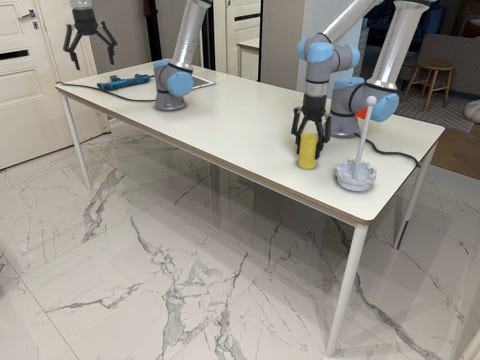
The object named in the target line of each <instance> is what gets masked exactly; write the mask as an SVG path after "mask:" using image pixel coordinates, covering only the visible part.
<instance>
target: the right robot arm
mask: <svg viewBox="0 0 480 360" xmlns="http://www.w3.org/2000/svg"><path fill="white" fill-rule="evenodd" d="M383 2H385V0H349V1H347V3H345V4H344V5H343V7H342V8H340V10H339V11H338V12H337V13H335V14H334V16H332V18H331V19H330V20H328V21H327V22H326V24H324V26H322V27H321V28H320V30H319V31H318V32H316V34H314V35H313V36H312V38H311V37H305V38H302V39H301V40H300V41H299V42H298V44H297V47H296V54H297V57H298V58H299V59H300V60H301V61H304V62H306V69H305V80H304V88H303V89H304V90H303V91H304V93H303V98H302V106H298V105H297V106H296V107H294V108H293V120H292V125H291V131H290V134H291V135H294V136H295V140H294V144H295V145H296V152H295V153H296V155H299V149H300V140H301V134H303V133H304V130H305V128H306V126H307V124H308V122H309V121H310V122H313V123H314V125H315V129H316V134H318V139H319V142H318V143H317V146H316V153H315V160H316V161H317V160H318V159H319V158H320V157H321V152H322V151H324V147H325V144H328V143H329V142H330V141H331V139H332V138H331V137H335V138H339V139H341V138H342V139H349V138H354V137H357V138H360V139H361V134H359V132H360V125H359V117H357V116H355V114H357V113H358V112H360V111H361V110H363V109H364V108H366V107H367V106H368V105H367V103H366V99H367V98H368V97H369V96H374V97H376V99H377V102H376V104H375V105H373V108H372V112H371V117H370V121H373V122H377V123H382V122H385V121H387V120H388V119H389V118H390V117H391V116H393V115H394V113H395V112H396V110H397V108H398V107H399V104H400V97H399V95H398V94H397V91H398V87H397V85H396V81H397V79H398V76H399V74H400V71H401V69H402V66H403V63H404V61H405V59H406V56H407V53H408V51H409V48H410V45H411V43H412V40H413V37H414V35H415V32H416V30H417V28H418V25H419V22H420V19H421V16H422V14H423V13H424V12H426V11H427V10H429V9H430V7H431V4H432V3H434V2H437V0H394V1H393V4H394V6H395V11H394V14H393V17H392V19H391V22H390V25H389V27H388V30H387V33H386V37H385V39H384V42H383V44H382V47H381V50H380V53H379V56H378V59H377V61H376V64H375V68H374V70H373V73H372V75H371V77H370V78H368V79H367V80H366V81H365V79H364V78H363V77H359V76H343V77H339V78H336V79H335V81H334V83H333V86H332V87H333V88H332V92H331V99H330V100H331V101H330V107H329V112H327V110H326V106H327V98H328V92H329V83H330V78H331V74H334V73H339V72H343V71H346V72H347V71H348V70H351V69H354V68H355V67H357V66H358V64H359V62H360V59H361V54H360V53H361V52H360V50H359V49H358V47H357V46H355V45H353V44H345V45H339V44H338V43H339V42H340V41H341V40H342V38H344V37H345V36H346V35H347V34H348V33H349V32H351V30H352V29H353V28H354V27H355V26H356V25H357V24H358V23H359V22H360V21H361V20H362V19H363V18H364V17H365V16H366V15H367V14H368V13H369V12H370V11H371V10H372V9H373V8H374V7H375V6H379V5H380V4H382V3H383ZM301 113H302V115H303V118H302V121H301V122H299V121H300V119H301V117H300V116H301ZM323 117H324V120H325V121H324V123H323ZM299 123H300V125H299ZM365 143H368V144H369V145H371V146H372V148H373V151H375V152H376V153H378V154H381V155H397V156H402V157H404V158H405V157H406V158H409V159H411V160H412V161H413V162H414V163H415V164H416V167H417V168H419V169H421V168H422V166H421V164H420V162H419V160H418V159H417V158H416V157H414V156H413V155H411V154H408V153H404V152H401V151H384V150H380V149H378V148H377V146H376V145H375V143H374V142H373V141H371V140H369V139H368V138H366V139H365ZM409 223H410V219H408V220H405V222H404V226H403V228H402V231H401V234H400V236H399V239H398V241H397V246H396V250H397V251H399V250H400V247H401V245H402V241H403V239H404V235H405V233H406V230H407V229H408V228H407V227H408V225H409Z"/></svg>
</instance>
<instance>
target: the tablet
mask: <svg viewBox="0 0 480 360" xmlns="http://www.w3.org/2000/svg"><path fill="white" fill-rule="evenodd" d="M192 78H193V82H194V84H193V88H192V90H191V91H193V90H196V89H200V88H205V87H207V86H208V87H209V86H212V85H215V84H216V82H214V81H211V80H209V79H205V78H202V77H200V76H198V75H196V74H193V73H192Z"/></svg>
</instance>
